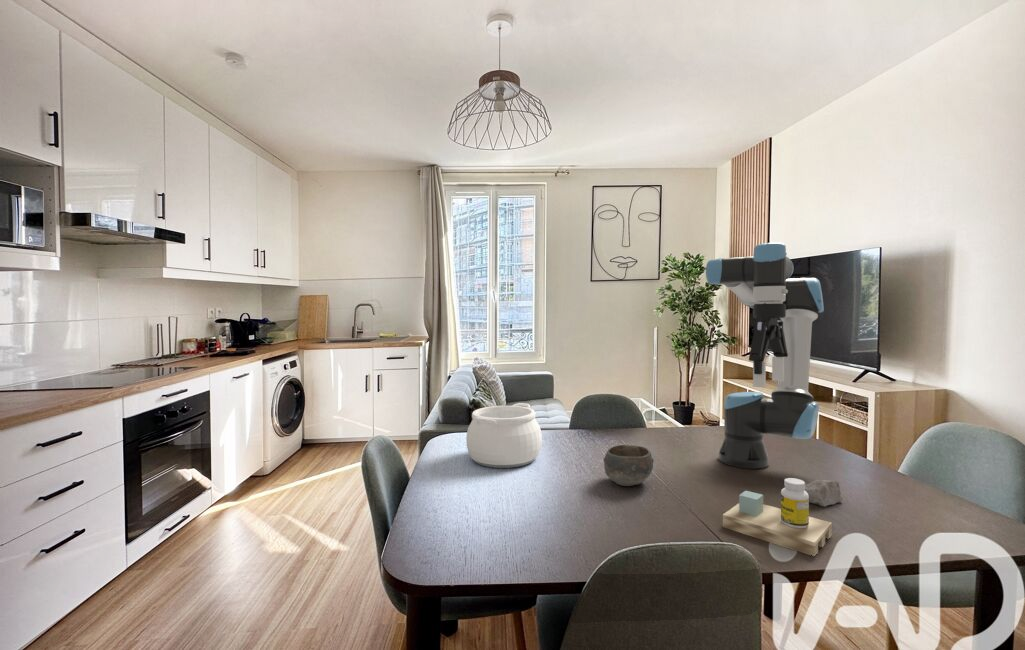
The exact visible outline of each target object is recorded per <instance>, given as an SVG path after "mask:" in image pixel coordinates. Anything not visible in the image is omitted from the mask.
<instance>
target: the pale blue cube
mask: <svg viewBox="0 0 1025 650" xmlns="http://www.w3.org/2000/svg"><path fill="white" fill-rule="evenodd" d="M738 497H739V498H738V501H739V502H738V503H739V512H743V513H746V514H750V515H753V516H758V515H759V514H761V513H762V512H763V504H764V494H762V493H758V492H754V491H753V492H752V491H750V490H744V491H743V492H742V493H740V494H739V495H738Z"/></svg>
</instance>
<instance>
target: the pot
mask: <svg viewBox="0 0 1025 650" xmlns="http://www.w3.org/2000/svg"><path fill="white" fill-rule="evenodd" d="M536 414H537V413H536V411H535V410H534V409H533V408H531V404H529V403H526V402H517V403H514V404H512V405H493V406H486V407H481V408H477V409H475V410H473V411H472V414H471V419H472V420H471V422H470V424H469V426H468V428H467V432H466V448H467V452H468V454H469V456H470V458H471V459H472V460H473V462H474V463H476V464H478V465H480V466H483V467H486V468H492V467H493V469H511V468H519V467H523V466H526V465H529V464H531V463H532V462H534V461H535V460H536V459H537V458H538V456H540V455H539V454H540V453H541V450H542V445H543V444H542V443H543V441H542V439H543V436H542V430H541V427H540V424H539V422H538V420H536V419H537V418H536V416H537V415H536Z"/></svg>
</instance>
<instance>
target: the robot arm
mask: <svg viewBox="0 0 1025 650" xmlns="http://www.w3.org/2000/svg"><path fill="white" fill-rule="evenodd" d="M787 255H788V254H787V248H786V245H785V243H782V242H768V243H767V242H766V243H759V244H756V245H755V246H754V247H753V255H752V256H743V257H742V256H740V257H739V256H737V257H727V258H725V257H723V258H721V257H719V258H715V259H714V258H713V259H709V260H708V261H707V263H706V266H705V279H706V281H707V283H708V284H710V285H724V286H725V287H726V288H727V289H728V290H730V291H731V292H732V293H734V294H735V295H736V297H737V300H738V301H739V302H740V303H741V304H743V305H744V306H746V307H749V308H751V309H752V313H753V314H752V315H753V318H754V319H759V321H754V326H753V330H754V331H753V335H752V340H751V345H750V352H749V356H748V360H749V361H750V362H752V386H753V387H755V388H766V386H767V385H766V381H767V380H766V376H767V375H766V373H767V372H766V370H767V369H766V364H767V363H766V362H767V361H765V357H766V355H767V351H768V348H769V345H770V347H771V351H772V353H773V356H771V361H772V362H771V367H772V368H771V374H772V375H771V381H774V382H775V381H776V382H777V387H776V389H774V390H772V392H771V395H770V397H764V394H763V392H761V391H759V392H758V391H742V392H734V393H729V394H728V395H726V396H725V398H724V406H723V409H724V411H723V413H724V414H723V415H724V416H723V417H724V420H723V421H724V423H723V426H724V430H723V431H724V432H723V433H724V435H723V436H724V438H723V439H722V443H721V445H720V446H721V447H720V448H719V451H718V460H719V461H720V462H721V463H723V464H725V465H728V466H731V467H736V468H741V469H754V470H756V469H763V468H767V467H769V466H770V464H769V463H770V461H769V460H770V459H769V455H768V451H767V449H766V446H765V443H764V434H765V435H770V436H777V437H778V436H779V437H786V438H792V439H801V440H803V439H804V440H807V439H811V438H812V437H813V435H814V434H815V430H816V427H817V424H818V423H817V422H818V417H819V409H820V407H819V404H818V402H816V401H814V396H813V395H812V394H811V393H810V392H809V382H810V365H811V348H812V345H811V344H812V332H813V331H812V329H813V328H812V327H813V322H814V321H816V320H817V319H818V317H819V313H824V311H825V310H824V309H825V308H824V299H823V298H824V297H823V292H822V285H821V282H820V280H819V279H818V278H816V277H800V278H798V277H797V278H795V277H793V278H791V276H792V275H793V274H794V273H793V272H794V270H795V269H794V263H793V262H792V260H791V258H790V257H788V256H787ZM779 319H780V320H779Z"/></svg>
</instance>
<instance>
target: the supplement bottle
mask: <svg viewBox="0 0 1025 650" xmlns="http://www.w3.org/2000/svg"><path fill="white" fill-rule="evenodd" d="M783 480H784V484H783V486H784V487H783V488H782V489H781V490H780V509H781V521H782V522H783V523H784V524H785V525H787V526H790V527H793V528H807V527H808V525H809V517H810V516H809V515H810V513H809V508H810V505H809V504H810V502H809V495H808V493H807V492H806V491H804V489H805V484H806V482H805V481H804V480H803V479H799V478H795V477H787V478H784V479H783Z"/></svg>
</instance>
